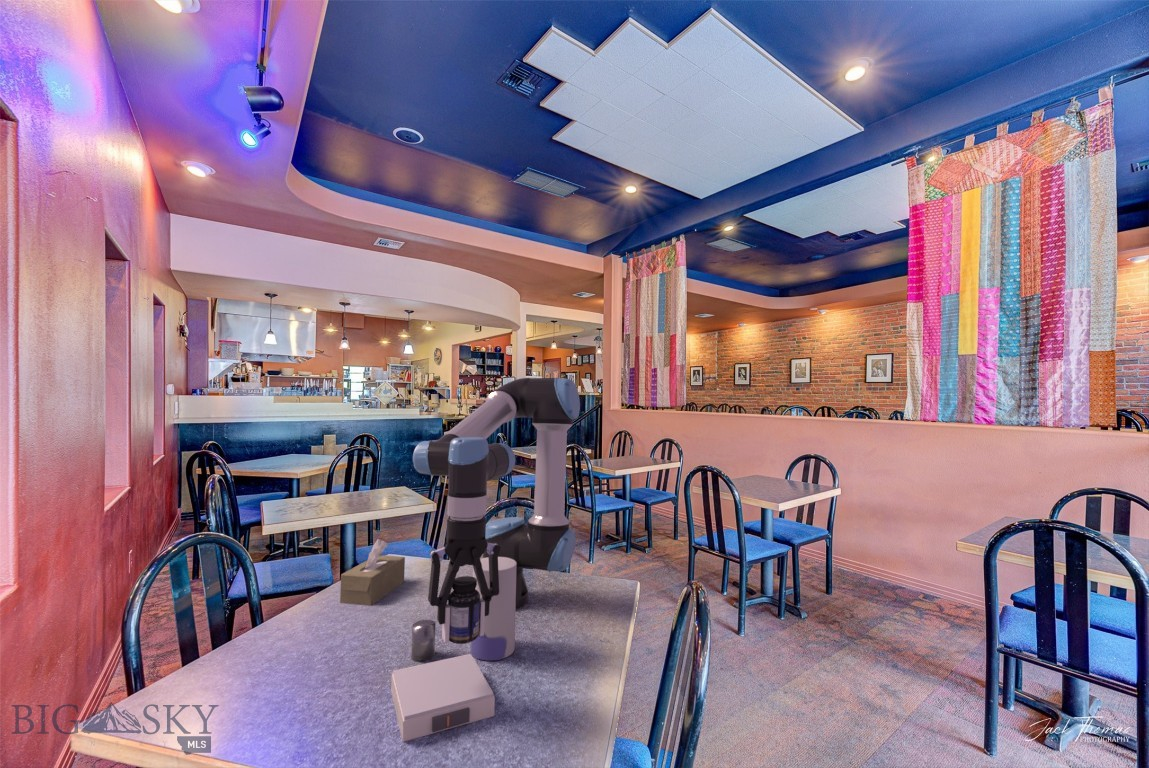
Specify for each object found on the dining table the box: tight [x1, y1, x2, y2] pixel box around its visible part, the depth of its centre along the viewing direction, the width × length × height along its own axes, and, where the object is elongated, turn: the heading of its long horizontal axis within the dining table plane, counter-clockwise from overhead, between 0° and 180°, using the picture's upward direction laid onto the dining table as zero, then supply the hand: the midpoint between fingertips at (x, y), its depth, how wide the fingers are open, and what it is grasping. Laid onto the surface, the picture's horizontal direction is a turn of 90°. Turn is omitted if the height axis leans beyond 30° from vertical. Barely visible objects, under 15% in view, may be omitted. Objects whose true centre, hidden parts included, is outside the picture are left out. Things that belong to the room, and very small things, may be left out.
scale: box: [390, 653, 496, 743], centre depth 93 cm, size 16×17×4 cm
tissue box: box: [339, 538, 406, 606], centre depth 146 cm, size 19×10×16 cm, turn 171°
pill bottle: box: [447, 575, 480, 645], centre depth 95 cm, size 6×6×11 cm
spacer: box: [411, 619, 436, 663], centre depth 110 cm, size 5×5×7 cm
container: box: [470, 557, 517, 662], centre depth 113 cm, size 10×10×20 cm
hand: (463, 635), depth 95 cm, fingers closed on pill bottle, 6 cm apart
